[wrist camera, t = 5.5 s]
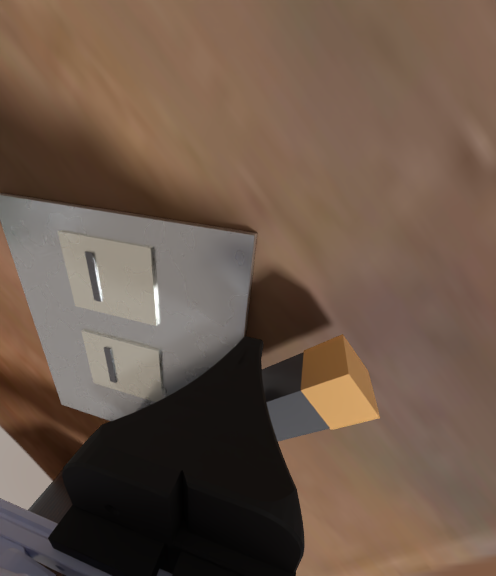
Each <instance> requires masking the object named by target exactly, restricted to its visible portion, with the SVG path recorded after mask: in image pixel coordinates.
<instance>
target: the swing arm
mask: <svg viewBox="0 0 496 576" xmlns="http://www.w3.org/2000/svg"><path fill="white" fill-rule="evenodd" d="M262 380H263V387H264V393H265V398H266V403H267V407H268V411H269V415H270V419H271V423H272V426H273V429H274V432H275V435H276V438H277V441H281V440H285V439H289V438H293V437H297V436H301V435H305V434H309V433H313V432H317V431H321V430H325V429H329V428H330V429H331V430H333V429H337V428H342V427H346V426H350V425H354V424H358V423H362V422H366V421H370V420H374V419H378V418H380V416H379V412H378V408H377V404H376V400H375V396H374V392H373V388H372V384H371V380H370V376H369V372H368V370H367V369H366V367H365V366H364V364H363V363H362V362H361V360H360V359H359V357H358V356H357V354H356V353H355V351H354V350H353V348H352V347H351V346H350V344H349V343H348V341H347V340H346V338H345V337H344V335H343V334H342V335H340V336H338V337H335V338H333V339H330V340H328V341H326V342H323V343H321V344H318V345H316V346H314V347H311V348H309V349H307V350H304V352H303V353H301V354H298V355H296V356H294V357H291V358H289V359H286V360H284V361H282V362H279V363H277V364H274V365H272V366H270V367H267V368H265V369H262Z"/></svg>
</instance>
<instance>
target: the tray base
mask: <svg viewBox="0 0 496 576" xmlns="http://www.w3.org/2000/svg"><path fill="white" fill-rule="evenodd" d="M0 221H1V224H2V227H3V230H4V233H5V236H6V239H7V242H8V245H9V248H10V251H11V254H12V257H13V260H14V263H15V266H16V269H17V272H18V275H19V278H20V281H21V284H22V287H23V290H24V293H25V296H26V299H27V302H28V305H29V308H30V311H31V314H32V317H33V320H34V323H35V326H36V329H37V332H38V335H39V338H40V341H41V344H42V347H43V350H44V353H45V356H46V359H47V362H48V365H49V368H50V371H51V374H52V377H53V380H54V383H55V386H56V389H57V392H58V395H59V398H60V401H61V404H62V405H64V406H67V407H70V408H73V409H76V410H79V411H82V412H85V413H88V414H91V415H94V416H97V417H100V418H103V419H106V420H109V421H113V420H116V419H118V418H121V417H124V416H126V415H129V414H131V413H134V412H136V411H138V410H141V409H143V408H145V407H147V406H149V405H151V404H153V403H155V402H157V401H159V400H161V399H163V398H165V397H167V396H169V395H171V394H172V393H174V392H176V391H178V390H179V389H181V388H183V387H184V386H186V385H187V384H189V383H190V382H192V381H193V380H195V379H196V378H198V377H199V376H201V375H202V374H203V373H205V372H206V371H207V370H208V369H210V368H211V367H212V366H213V365H215V364H216V363H217V362H218V361H219V360H221V359H222V358H223V357H224V356H225V355H226V354H227V353H228V352H229V351H230V350H231V349H232V348H234V347H235V345H236V344H237V343H238V342H239V341H240V340H241V339H242V338H243V337H245V336H246V329H247V320H248V311H249V303H250V294H251V285H252V276H253V267H254V259H255V250H256V241H257V233H255V232H249V231H242V230H236V229H230V228H223V227H217V226H211V225H204V224H198V223H192V222H185V221H179V220H172V219H166V218H160V217H153V216H147V215H141V214H134V213H128V212H121V211H115V210H109V209H102V208H96V207H90V206H83V205H77V204H71V203H64V202H58V201H51V200H45V199H39V198H32V197H26V196H20V195H13V194H7V193H0Z"/></svg>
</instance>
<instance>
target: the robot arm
mask: <svg viewBox="0 0 496 576" xmlns="http://www.w3.org/2000/svg"><path fill="white" fill-rule="evenodd" d="M262 349H263V341H262V340H259V339H254V338H250V337H246V336H245V337H243V338H242V339H241V340H240V341H239V342H238V343H237V344H236V345H235V347H234V348H232V349H231V350H230V351H229V352H228V353H227V354H226V355H225V356H224V357H223V358H222V359H221V360H219V361H218V362H217V363H216V364H215V365H213V366H212V367H211V368H210V369H208V370H207V371H206V372H205V373H203V374H202V375H201V376H199V377H198V378H196V379H195V380H193V381H192V382H190V383H189V384H187V385H186V386H184V387H183V388H181V389H179V390H178V391H176V392H174V393H172V394H171V395H169V396H167V397H165V398H163V399H161V400H159V401H157V402H155V403H153V404H151V405H149V406H147V407H145V408H143V409H141V410H138V411H136V412H134V413H131V414H129V415H126V416H124V417H121V418H118V419H116V420H113V421H111V422H108V423H105V424H102V425H101V426H100V428H99V429H98V430H96V431H95V432H94V433H93V434H92V435H91V436H90V437H89V439H88V440H87V441H86V442H85V443H84V444H83V445H82V446H81V448H80V449H79V450H78V451H77V452H76V453H75V455H74V456H73V457H72V458H71V459H70V460H69V462H68V463H67V464H66V465H65V466H64V468H63V472H62V478H63V482H64V485H65V487H66V490H67V492H68V495H69V497H70V500H71V502H72V504H73V505H72V506H71V507H70V509H69V510H68V511H67V513H66V514H65V515H64V517H63V518H62V519H61V521H60V522H59V523H58V524H57V523H55V522H53V521H51V520H48V519H46V518H44V517H42V516H39V515H37V514H35V513H32V512H30V511H28V510H25V509H23V508H21V507H19V506H17V505H14V504H12V503H10V502H7V501H5V500H3V499H1V498H0V576H56V575H55V574H54V573H52V572H51V571H50V570H48V569H47V568H45V567H44V566H42V565H41V564H43V565H45V566H47V567H49V568H51V569H53V570H56V571H58V572H60V573H62V574H64V575H66V576H296V570H297V567H298V565H299V563H300V561H301V559H302V556H303V553H304V529H303V521H302V515H301V509H300V504H299V499H298V494H297V489H296V486H295V484H294V482H293V480H292V477H291V475H290V473H289V470H288V468H287V465H286V463H285V460H284V458H283V455H282V453H281V450H280V447H279V444H278V441H277V438H276V435H275V432H274V429H273V426H272V423H271V419H270V415H269V411H268V407H267V403H266V398H265V393H264V387H263V380H262V369H261V356H262ZM36 561H37V562H36ZM38 562H39V563H41V564H39V563H38Z"/></svg>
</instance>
